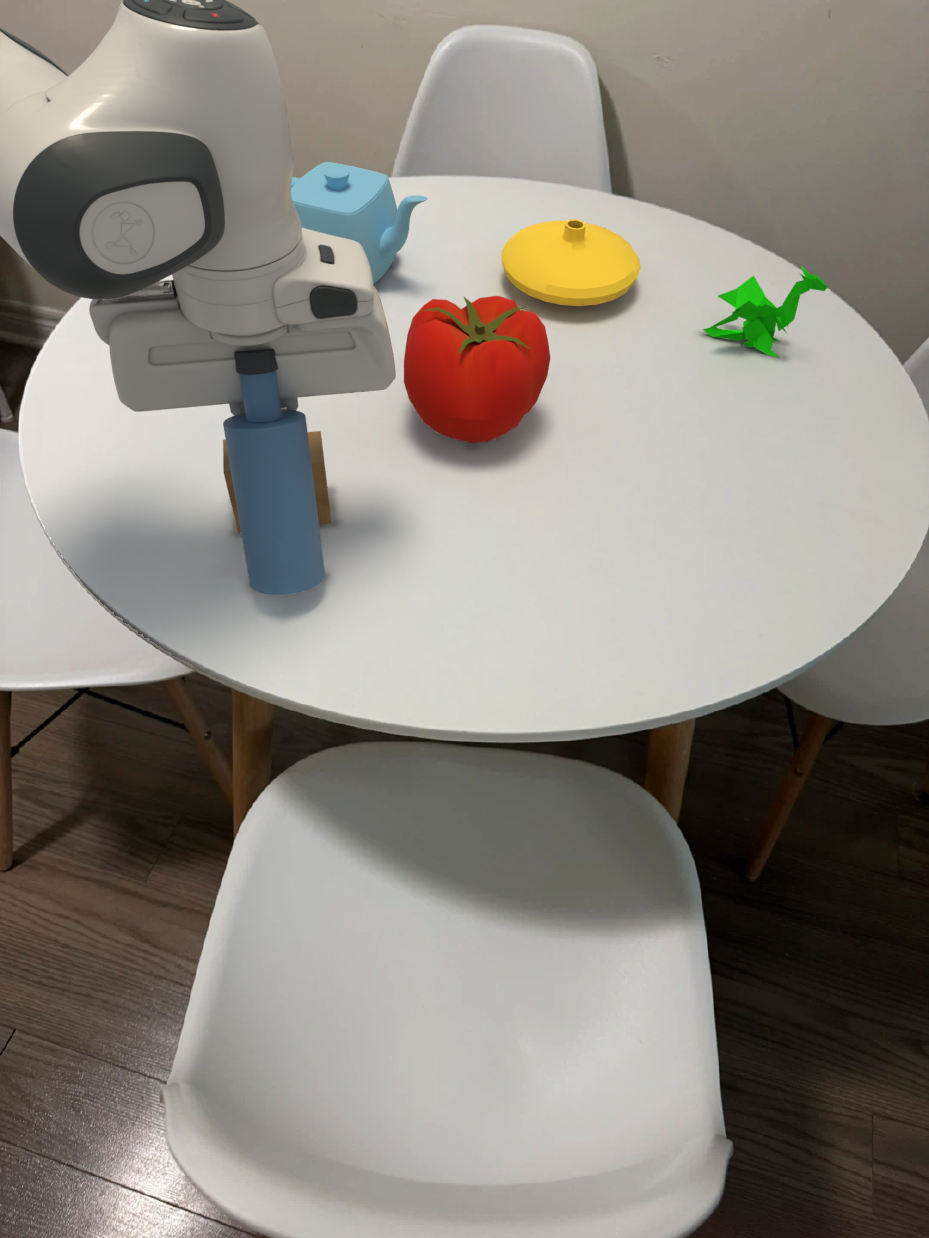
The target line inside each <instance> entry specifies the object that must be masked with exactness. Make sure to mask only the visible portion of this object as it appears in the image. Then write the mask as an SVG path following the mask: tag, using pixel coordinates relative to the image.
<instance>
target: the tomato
mask: <svg viewBox="0 0 929 1238" xmlns="http://www.w3.org/2000/svg"><path fill="white" fill-rule="evenodd" d="M463 300H464V301H465V303H466V305H465V306H464V307H460V306H458V305H457V304H455V303H454V302H451V301H450V300H448V299H443V298H441V299H439V298H432V299H430V300H429V301H428V302H425V304H423V305H422V306H421V307H420V309H419V310H418V311H417V312H416V313H415V315H413V317H412V320H411V323H410V325H409V328H408V332H407V334H406V335H407V336H406V342H405V348H404V349H405V350H404V357H403V385H404V388H405V391H406V395H407V397H408V398H407V399H408V400H409V401H410V403H411V406H412V407H413V408H414V410H415V412H416V413H417V415H418V417H419V418H420V419H421V421H422V422H423V424H425V425H426V426H427V427H429V428H430V429H432V431H434V432H435V433H437V434H440V435H442V436H444V437H447V438H451V439H453V440H457V441H462V442H465V443H469V444H477V443H487V442H489V441H494V440H495V439H498V438H500V437H502V436H505V435H506V434H508V433H509V432H510V431H512V430H513V429H515V428H517V427H518V425H519V424H520V422H521V421H522V420H523V418H524V417H525V416H526V415H528V414H529V413H530V412H531V411H532V410H533V408H534V406H535V405H536V403H537V402H538V400H539V397H540V396H541V393H542V390H543V388H544V385H545V383H546V380H547V378H548V375H549V370H550V364H551V352H550V345H549V338H548V334H547V329H546V326H545V324H544V323H543V322H542V320H541V319H540V317H539V316H538V314H537V313H536V312H533V311H529V310H524V309H527V308H530V307H531V305H527V306H519V305H518V303H517V302H516V300H514V299H511V298H507V297H504V296H500V295H492V296H483V297H479V298H477V299H475V300H473V301H472V302H471V301H470V300H469V299H468V298H467V297H466V296H463Z"/></svg>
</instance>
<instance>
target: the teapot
mask: <svg viewBox="0 0 929 1238" xmlns="http://www.w3.org/2000/svg"><path fill="white" fill-rule="evenodd" d="M393 191H394V190H393V189H392V184H391V182H390V178H389V176H388V175H387V174H386V173H382V172H380V171H379V172H378V171H375V170H370V169H367V168H362V167H358V166H353V165H349V164H343V163H337V162H331V161H325V162H322V163H319V164H318V165H316V166H314V167H313V168H311V169H310V170H309V171H307V172H306V173H305V174H304V175H303V176H301V177H296V176H292V182H291V195H292V200H293V204H294V206H295V209H296V211H297V213H298V216H299V218H300V222H301V226H302V228H306V229H309V230H313V231H317V232H320V233H325V234H329V235H333V236H337V237H341V238H346V239H350V240H353V241H356V242H358V243H359V244H361V246H362V247H363V249H364V251H365V254H366V256H367V258H368V261H369V264H370V268H371V272H372V277H373V285H375V284H376V283H377V282H378V281H379V280H380V279H381V278H382V277H383V276H385V274H386V273H387V271H388V270H389V269H390V267H391V265H392V263H393V261H394V260H395V258H396V255H397V253H398V252H400V251H401V250H402V248H403V247H404V246H405V244H406V242H407V239H408V236H409V232H410V226H411V225H410V224H411V216H412V213H413V211H414V209H415V208H416V207H417V206H418V205H420V204H422V203H423V202H426V201H428V196H427V197H426V196H424V195H408V196H406V197H404V198H403V199H402V200H401V201H400V203H399V205H397V202H396V197H395V195H394V192H393Z"/></svg>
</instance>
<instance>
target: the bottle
mask: <svg viewBox="0 0 929 1238" xmlns="http://www.w3.org/2000/svg"><path fill="white" fill-rule="evenodd" d="M275 355H276V353H275V350H274V349H264V350H251V351H237V352H234V358H235V366H236V372H237V373H239V375H240V381H241V388H242V394H243V401H244V407H245V413H242V414H238V415H235V416H234V415H232V416H229V417H228V418H226V419H224V421H223V422H222V424H223V425H222V427H223V432H224V438H225V439H226V445H227V451H228V457H229V463H230V469H231V475H232V481H233V487H234V493H235V499H236V505H237V511H238V517H239V523H240V529H241V533H240V534H241V539H242V547H243V551H244V553H243V554H244V558H245V563H246V569H247V570H246V571H247V576H248V582H249V586H250V588H251V589H252V590H253V591H254V592H256V593H259V594H263V595H268V596H288V595H294V594H295V595H296V594H299V593H303V592H307V591H309V590H311V589H314V588H315V587H318V586H319V585H320V584H321V583H323V582H324V580H325V578H326V570H325V562H324V561H325V560H324V553H323V546H322V539H321V528H320V525H319V520H318V512H317V504H316V496H315V488H314V480H313V472H312V464H311V456H310V448H309V440H308V432H309V431H308V423H307V416H306V414H305V413H304V412H302V411H299V410H296V411H295V410H286V409H281V404H280V397H279V389H278V382H277V375H276V370H278V365H277V361H276V358H275Z"/></svg>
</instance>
